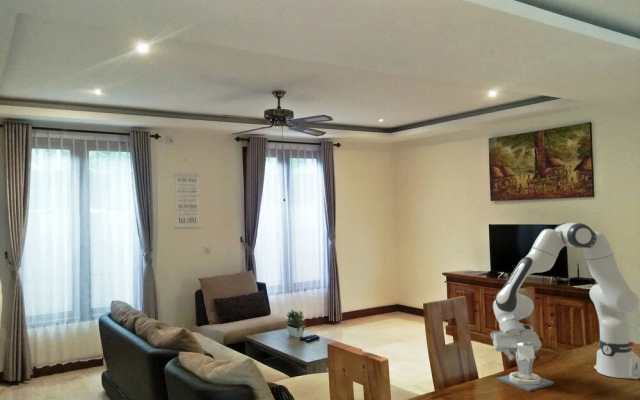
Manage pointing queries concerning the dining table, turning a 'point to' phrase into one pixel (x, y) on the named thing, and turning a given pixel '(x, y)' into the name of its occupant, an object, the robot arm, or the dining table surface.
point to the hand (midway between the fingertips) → (522, 359)
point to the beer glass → (524, 360)
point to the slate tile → (526, 387)
